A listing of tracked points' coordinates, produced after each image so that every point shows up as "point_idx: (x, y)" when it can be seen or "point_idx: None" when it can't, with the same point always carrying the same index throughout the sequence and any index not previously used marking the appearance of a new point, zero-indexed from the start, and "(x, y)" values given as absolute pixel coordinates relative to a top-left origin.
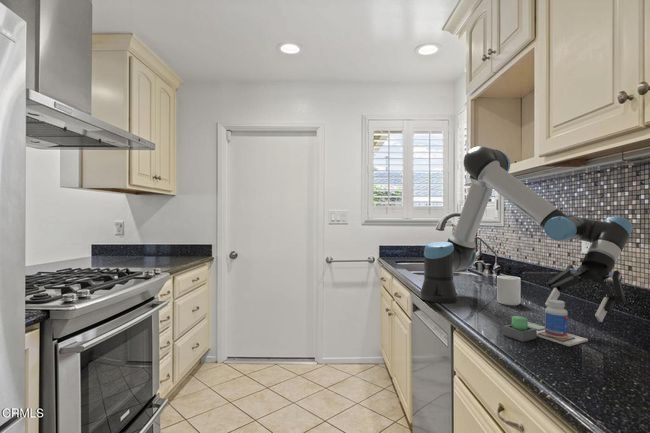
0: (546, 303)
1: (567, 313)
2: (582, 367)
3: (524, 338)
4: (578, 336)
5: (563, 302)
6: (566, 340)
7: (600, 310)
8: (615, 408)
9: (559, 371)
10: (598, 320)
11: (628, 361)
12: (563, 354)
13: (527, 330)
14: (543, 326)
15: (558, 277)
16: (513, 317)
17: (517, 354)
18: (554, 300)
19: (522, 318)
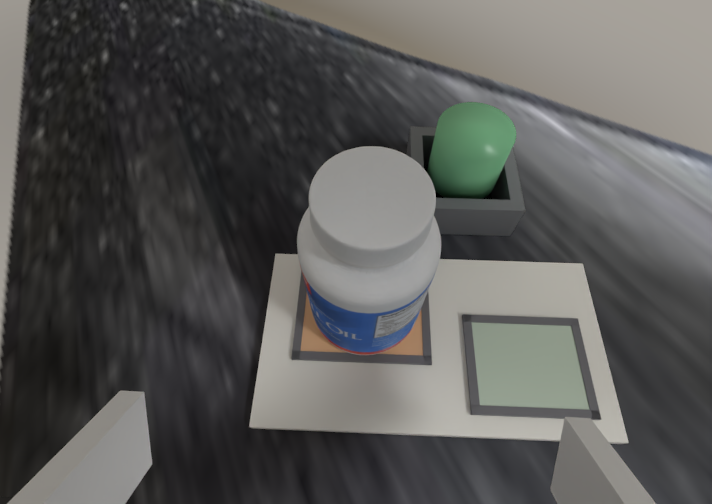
0: (581, 423)
1: (299, 259)
2: (174, 119)
3: (407, 155)
4: (298, 421)
5: (311, 194)
6: (300, 281)
7: (79, 434)
8: (74, 5)
9: (210, 56)
10: (147, 451)
11: (58, 296)
12: (254, 164)
13: (419, 160)
14: (503, 409)
15: None
16: (493, 112)
17: (339, 62)
18: (394, 203)
19: (463, 132)
